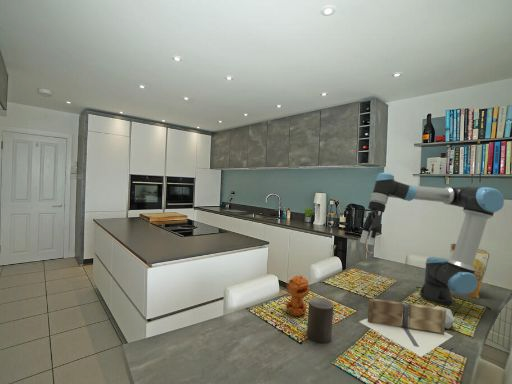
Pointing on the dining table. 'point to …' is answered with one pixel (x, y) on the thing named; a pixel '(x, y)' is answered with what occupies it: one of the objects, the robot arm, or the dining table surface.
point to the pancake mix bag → (477, 268)
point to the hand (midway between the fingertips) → (366, 243)
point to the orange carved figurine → (297, 295)
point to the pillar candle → (320, 320)
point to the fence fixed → (424, 318)
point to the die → (448, 318)
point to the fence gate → (385, 312)
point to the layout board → (410, 337)
